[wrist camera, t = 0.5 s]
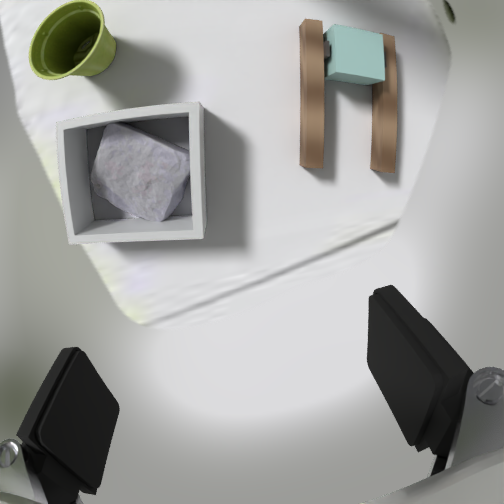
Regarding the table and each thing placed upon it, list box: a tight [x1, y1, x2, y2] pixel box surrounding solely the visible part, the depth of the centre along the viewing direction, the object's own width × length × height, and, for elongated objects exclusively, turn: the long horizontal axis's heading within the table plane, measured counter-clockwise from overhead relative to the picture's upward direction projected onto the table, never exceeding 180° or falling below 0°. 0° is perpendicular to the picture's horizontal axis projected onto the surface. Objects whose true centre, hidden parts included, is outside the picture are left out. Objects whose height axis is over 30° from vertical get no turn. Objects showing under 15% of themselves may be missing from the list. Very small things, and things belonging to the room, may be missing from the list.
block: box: [323, 24, 385, 85], centre depth 28 cm, size 6×6×5 cm
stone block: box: [91, 123, 190, 222], centre depth 33 cm, size 12×5×10 cm
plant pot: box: [29, 0, 116, 80], centre depth 23 cm, size 9×9×9 cm
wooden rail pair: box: [299, 19, 397, 173], centre depth 30 cm, size 18×12×4 cm, turn 0°
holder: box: [56, 102, 207, 244], centre depth 31 cm, size 14×16×6 cm
